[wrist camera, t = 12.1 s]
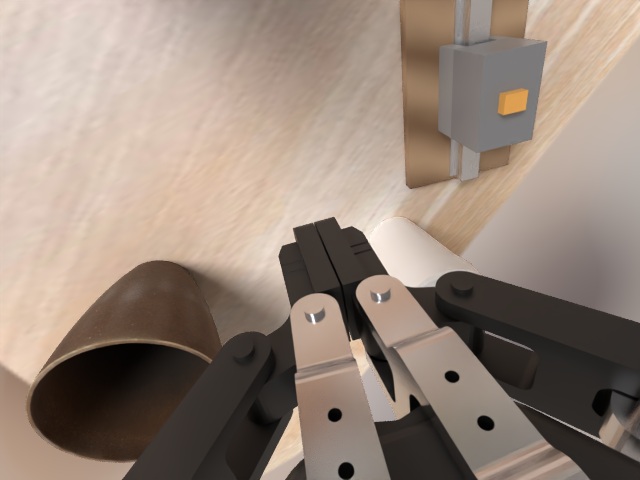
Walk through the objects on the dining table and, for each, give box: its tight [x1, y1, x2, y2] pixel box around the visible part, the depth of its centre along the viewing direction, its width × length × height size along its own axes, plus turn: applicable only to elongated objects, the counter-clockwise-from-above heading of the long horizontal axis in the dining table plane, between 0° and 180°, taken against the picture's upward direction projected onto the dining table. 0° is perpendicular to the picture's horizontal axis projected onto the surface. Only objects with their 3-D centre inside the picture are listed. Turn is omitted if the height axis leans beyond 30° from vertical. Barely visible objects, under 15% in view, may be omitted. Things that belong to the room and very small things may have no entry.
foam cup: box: [369, 217, 481, 287], centre depth 42 cm, size 10×9×13 cm
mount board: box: [400, 0, 529, 189], centre depth 37 cm, size 26×12×1 cm, turn 9°
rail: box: [449, 0, 492, 181], centre depth 35 cm, size 25×3×2 cm, turn 9°
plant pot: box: [26, 261, 222, 463], centre depth 37 cm, size 15×15×16 cm
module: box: [438, 35, 547, 153], centre depth 34 cm, size 8×5×8 cm
